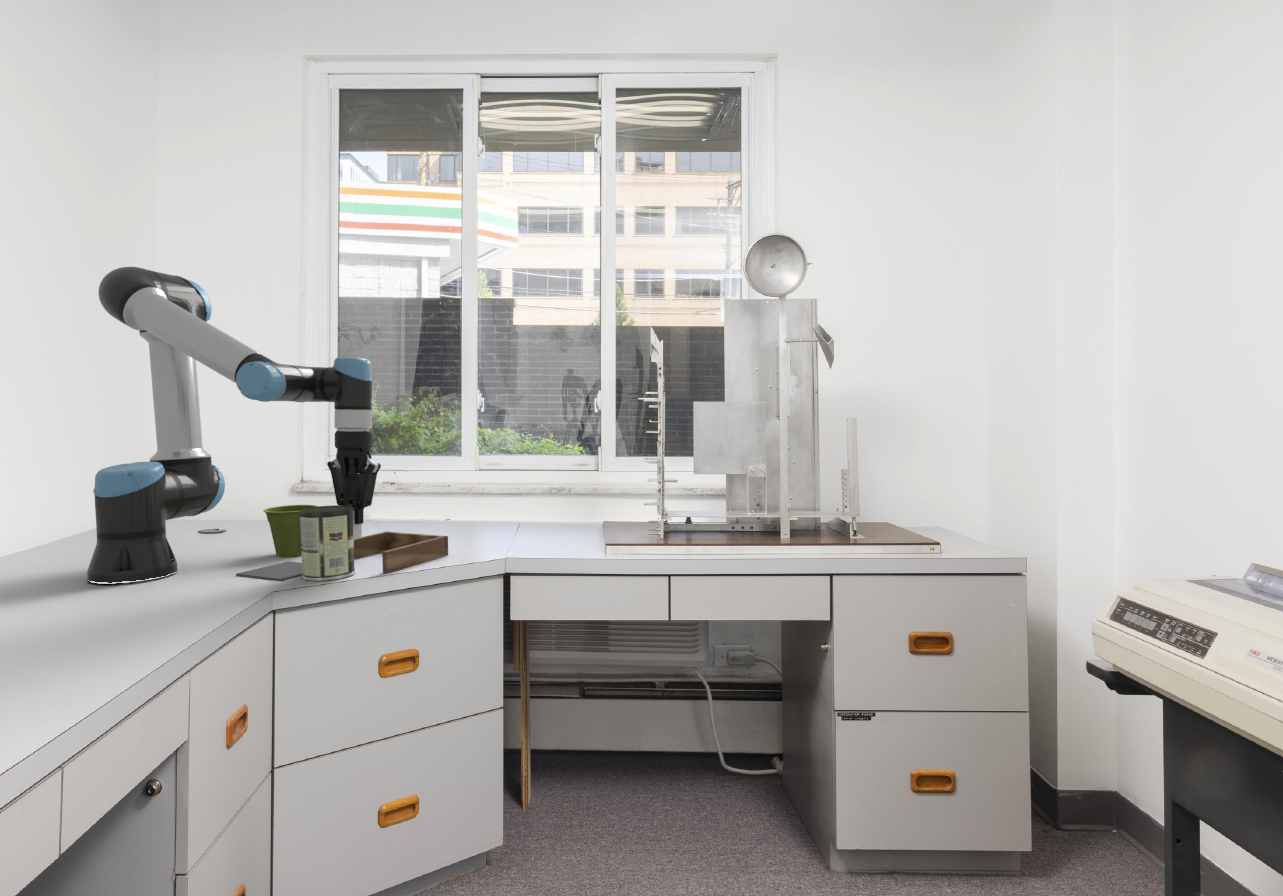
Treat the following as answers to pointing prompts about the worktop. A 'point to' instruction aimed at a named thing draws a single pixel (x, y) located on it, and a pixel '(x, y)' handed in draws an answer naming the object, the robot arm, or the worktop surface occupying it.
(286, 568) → the slate mat
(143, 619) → the worktop surface
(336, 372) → the robot arm
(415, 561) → the frame
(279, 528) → the plant pot
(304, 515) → the coffee can
